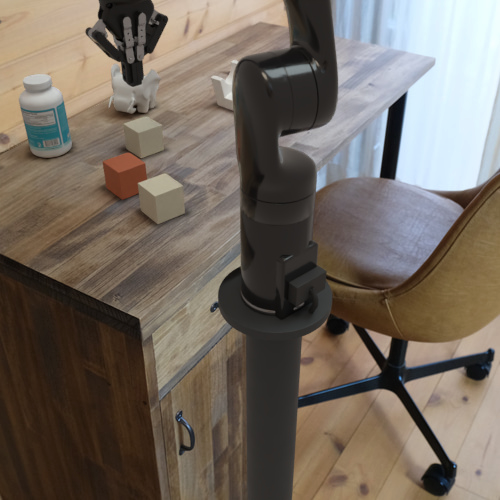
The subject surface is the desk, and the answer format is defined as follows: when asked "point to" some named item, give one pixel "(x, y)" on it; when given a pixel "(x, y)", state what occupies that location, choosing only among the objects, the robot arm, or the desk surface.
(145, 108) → the elephant figurine
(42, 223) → the desk surface
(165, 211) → the near block
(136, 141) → the far block
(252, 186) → the robot arm
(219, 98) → the bracket
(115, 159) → the block
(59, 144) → the pill bottle
